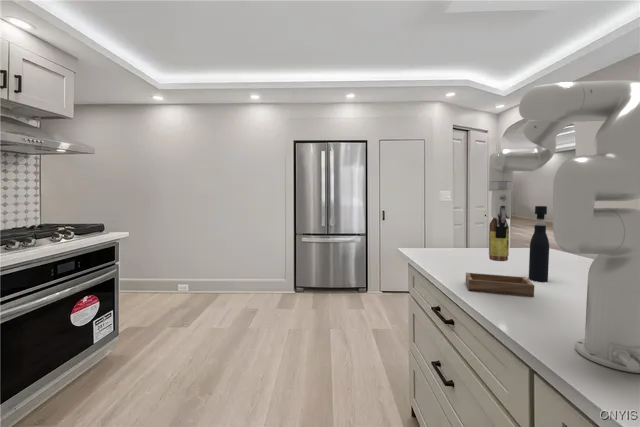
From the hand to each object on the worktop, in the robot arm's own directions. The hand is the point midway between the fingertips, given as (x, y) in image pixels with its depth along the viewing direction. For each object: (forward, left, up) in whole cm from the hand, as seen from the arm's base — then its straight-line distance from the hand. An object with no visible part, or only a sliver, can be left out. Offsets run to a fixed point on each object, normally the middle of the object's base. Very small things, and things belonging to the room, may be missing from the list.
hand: (498, 236), depth 113 cm
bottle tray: (0, 0, -19) cm, 19 cm away
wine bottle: (+20, -18, -20) cm, 33 cm away
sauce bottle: (0, 0, -9) cm, 9 cm away
